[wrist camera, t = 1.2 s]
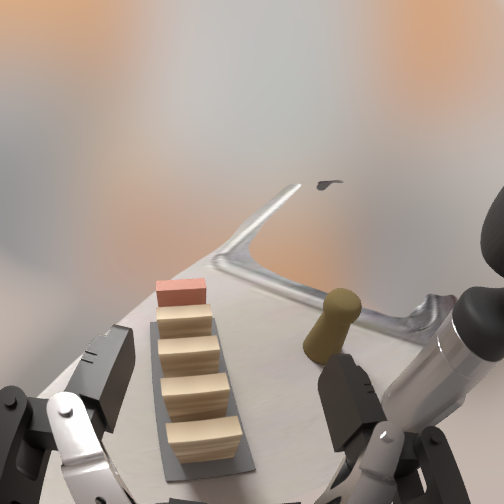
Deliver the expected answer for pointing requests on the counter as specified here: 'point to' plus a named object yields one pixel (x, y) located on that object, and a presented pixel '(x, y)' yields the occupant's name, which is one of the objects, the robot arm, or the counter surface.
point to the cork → (332, 325)
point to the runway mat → (170, 462)
